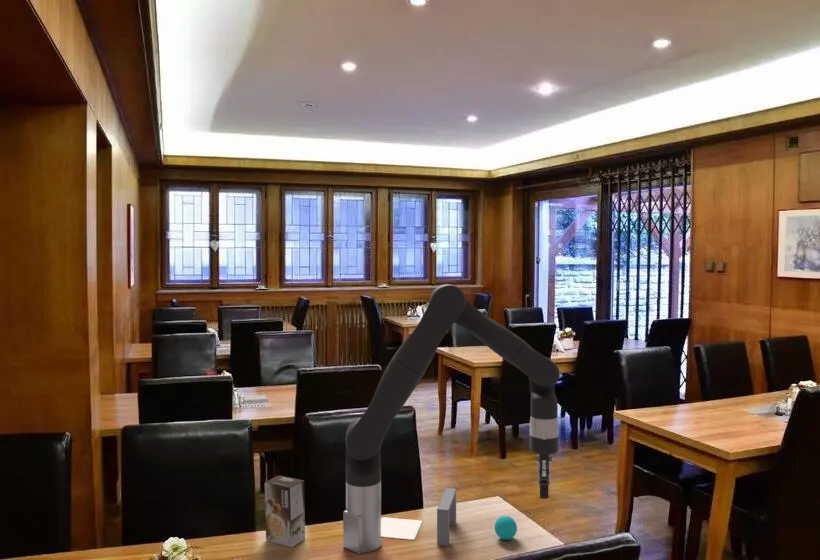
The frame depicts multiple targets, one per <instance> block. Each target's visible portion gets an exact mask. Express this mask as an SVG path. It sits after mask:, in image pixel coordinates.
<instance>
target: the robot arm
mask: <svg viewBox="0 0 820 560" xmlns="http://www.w3.org/2000/svg"><path fill="white" fill-rule="evenodd" d="M454 324H456V325H457V326H458V325H459V327H461V328H463V329H465V330H466V331H467V332H469V333H470V334H472V335H473V336H474V337H476V338H477V339H478V340H479V341H480V342H481V343H483V345H485V346H486V347H488V348H489V349H490V350H491V351H493V352H494V353H495V354H497V355H498V356H499V357H501V358H502V359H503V360H505V361H506V362H508V363H509V364H510V365H512V366H514V367H516V368H517V369H518V370H520V371H521V372H522V373H523V374H524V375H525V376H526V377H528V382H529V383H528V384H529V390H530V417H529V450H530V451H531V452H532V453H534V454H537V455H536V467H537V477H539V478H538V485H539V497H540V499H545V500H546V499H549V486H550V478H551V477H552V475H551V474H552V466H553V465H552V464H553V462H552V459H553V458H552V456H550V455H555V454H557V453H558V452H559V446H560V445H559V444H560V443H559V441H560V439H559V436H560V435H559V431H560V430H559V419H558V418H559V417H558V413H559V411H558V410H559V409H558V408H559V407H558V398H557V396H556V392H555V388H556V387H555V385H556V384H557V382H559V379H560V374H561V373H560V369H559V367H558V365H557V364H556V363H555V362H554V361H553V360H552V359H550V358H549V357H547V356H544V355H543V354H541V353H540V352H539V351H537V350H535V349H534V348H533V347H531V346H530V344H529V343H527V342H526V341H525V340H523V339H522V338H521V337H520V336H518V335H517V334H515V333H514V332H513V331H511V330H510V329H508V328H507V327H505V326H504V325H502V324H500V323H499V322H497V321H496V320H493V319H492V318H490V317H489V316H488V315H486V314H484V313H483V312H482V311H481V310H479V309H478V308H477V307H475V305H473V304H472V303H471V302H470V301H469V300H468V299H467V298H466V294H465V293H464V292H463V290H462V289H461V288H460V287H459V286H458V285H456V284H452V283H451V284H450V283H446V284H441V285H439V286H436V288H435V289H433V290H432V292H431V294H430V296H429V302H428V305H427V307H426V309H425V311H424V313H423V314H422V317H421V319H420V321H419V322H418V323H417V325H416V327H415V328H414V329H413V331H412V332H411V333H410V334H409V335H408V336H407V338H406V339H404V341H403V342H402V344H401V345H400V346H399V347H398V349H397V351H395V353H394V355H393V356H392V358H391V359H390V361H389V363H388V364H387V366H386V368H385V370H384V372H383V374H382V376H381V378H380V381H379V382H378V384H377V387H376V389H375V391H374V394H373V397H372V400H371V401H370V403H369V405H368V406H367V408H366V409H365V411H364V413H363V414H362V416H361V417H358V418H356V419H354V420H352V421H351V422H350V423H349V425H348V426H347V429H346V432H345V510H344V511H343V513H342V517H343V522H342V523H343V525H342V529H343V533H342V534H343V535H342V536H343V543H342V545H343V547H344V548H345V549H348V550H349V551H352V552H354V553H356V554H359V555H360V554H363V553H369V552H373V551H376V550H377V549H378V550H379V548H381V546H382V537H381V518H382V462H381V461H382V460H381V459H382V458H381V457H382V456H381V455H382V454H381V453H382V451H381V446H382V444H383V442H384V440H385V437H386V435H387V433H388V432H389V430H390V427H391V425H392V423H393V421H394V419H396V416H397V415H398V414H399V412H400V411H401V409H402V408H403V406H404V405H405V404H406V402H407V401H408V400H409V398H410V397H411V395H412V394H413V392H414V390H415V389H416V388H417V386H418V385H419V383H420V381H421V380H422V378H423V376H424V375H425V373H426V371H427V369H428V367H429V366H430V363H431V362H432V361H433V359H434V356H435V354H436V352H437V350H438V347H439V346H440V344H441V342H442V340H443V339H444V337H445V336H446V334H447V333H448V332H449V331H450V329H451V328H452V327H453V325H454Z"/></svg>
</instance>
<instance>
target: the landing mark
mask: <svg viewBox="0 0 820 560" xmlns="http://www.w3.org/2000/svg"><path fill="white" fill-rule="evenodd" d="M422 524H423V520H419V519H417V520H416V519H409V518H408V519H407V518H397V517H396V518H394V517H385V516H383V517H382V516H381V538H387V539H396V540H399V539H400V540H405V541H406V540H410V541H415V539H416V537H417V534H418V532H419V531H420V528H421V526H422Z"/></svg>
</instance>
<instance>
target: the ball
mask: <svg viewBox="0 0 820 560" xmlns="http://www.w3.org/2000/svg"><path fill="white" fill-rule="evenodd" d="M517 531H518V525H517V522H516V521H515V520H514V518H512V517H510V516H509V515H502V516H500V517H498V518H497V519H496V521H495V523H494V532H495V535H497V537H498V538H500V539H501V540H507V541H508V540H512V539H513V538H514V537H515V536H516V534H517Z"/></svg>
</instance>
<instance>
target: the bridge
mask: <svg viewBox="0 0 820 560" xmlns="http://www.w3.org/2000/svg"><path fill="white" fill-rule="evenodd" d="M456 524H457V488H451V487H450V488H449V487H446V488H445V489H444V491H443V494H442V496H441V499H440V501H439V504H438V506H437V508H436V525H437V526H436V546H443V547H449V545H450V525H452V526H456Z"/></svg>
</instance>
